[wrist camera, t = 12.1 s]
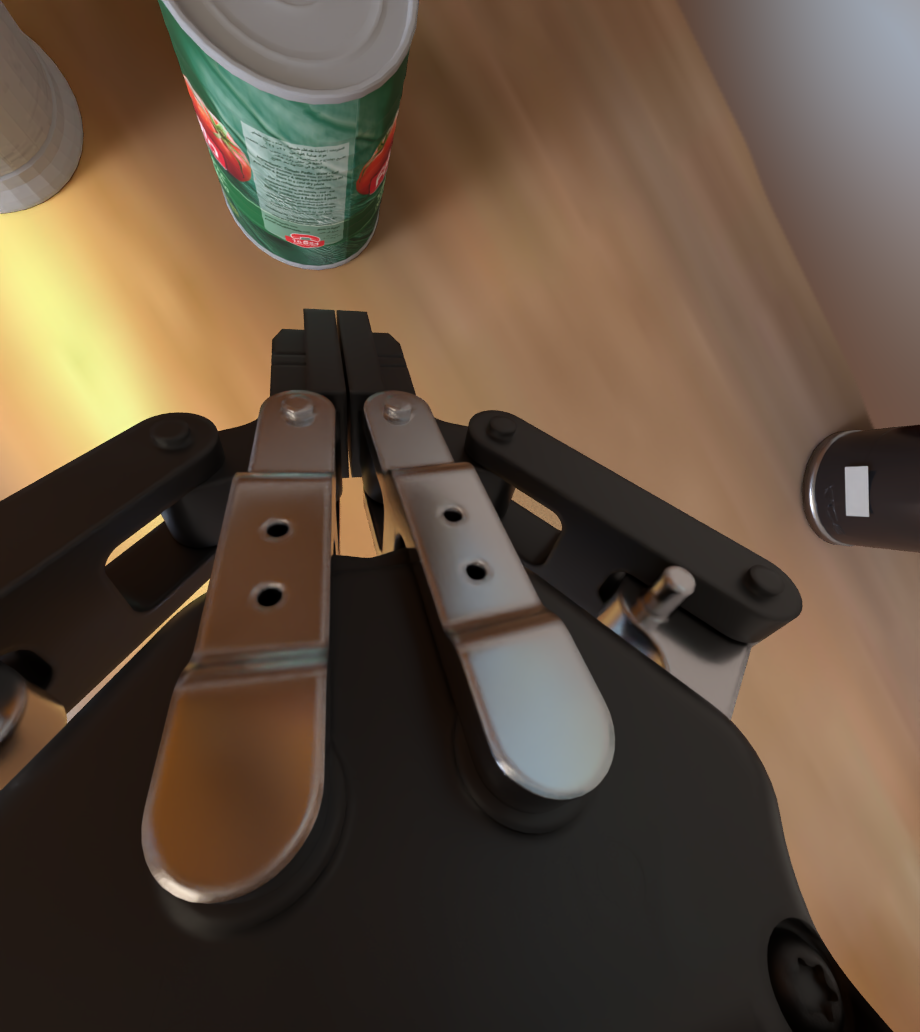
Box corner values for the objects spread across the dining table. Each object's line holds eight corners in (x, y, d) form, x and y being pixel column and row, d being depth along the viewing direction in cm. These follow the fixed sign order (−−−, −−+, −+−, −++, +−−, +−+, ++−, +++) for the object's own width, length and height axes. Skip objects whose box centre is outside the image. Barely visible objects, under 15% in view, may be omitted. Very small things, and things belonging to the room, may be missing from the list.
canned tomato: (404, 238, 25) (463, 57, 14) (277, 293, 23) (237, 132, 13) (330, 91, 23) (335, -234, 13) (186, 138, 21) (56, -193, 11)
